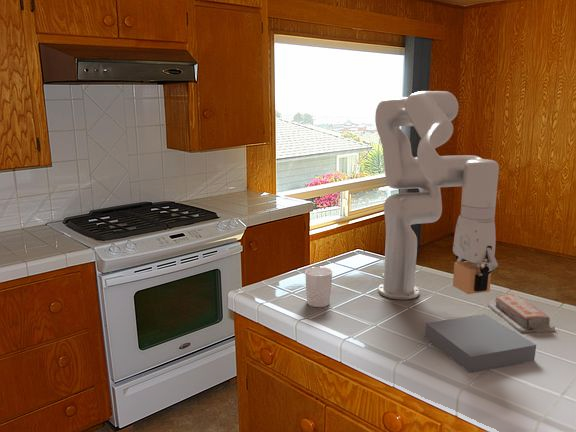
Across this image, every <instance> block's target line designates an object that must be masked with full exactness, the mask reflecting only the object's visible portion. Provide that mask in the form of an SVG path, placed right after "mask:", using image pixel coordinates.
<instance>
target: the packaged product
mask: <svg viewBox="0 0 576 432" xmlns="http://www.w3.org/2000/svg"><path fill="white" fill-rule="evenodd" d="M487 307H489V308H490V309H491V310H492V311H494V312H495V313H496V314H497V315H498V316H499V317H501V318H502V319H503V320H504V321H505V322H507V323H508V324H509V325H511V326H512V327H514V328H515V329H516V330H517V331H518V332H520V333H523V334H525V333H528V334H529V333H543V332H545V333H546V332H555V330H556V326H555V325H553V324H552V323H550V321H551V320H550V317H549V316H548V315H547V314H546V313H544V312H543V311H541V310H540V309H538V308H537V307H536V306H534V305H533V304H531V303H530V302H528V301H527V300H526V299H524V298H522V297H521V296H520V295H518V294H516V293H512V292H509V293H506V294H503V295H498V296H496V298H495V300H494V302H491V303H487Z"/></svg>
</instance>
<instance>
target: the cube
mask: <svg viewBox="0 0 576 432" xmlns="http://www.w3.org/2000/svg"><path fill="white" fill-rule="evenodd" d="M453 264H454V265H453V278H452V286H453V287H455V288H456V289H458V290H460V291H461V292H464V293H465V294H466V295H472V294H473V295H474V294H479V293H480V294H481V293H489V292H491V282H492V281H491V280H492V273H491V274H490V275H488V285H487V290H486V291H479V292H476V291H474V286H475V275H478V274H477V268H476V264H473V263H471V262H469V261H461V262H457V261H454V263H453ZM481 267H482V269H483V268H484V264H482V265H481Z"/></svg>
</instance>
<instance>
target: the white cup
mask: <svg viewBox="0 0 576 432" xmlns="http://www.w3.org/2000/svg"><path fill="white" fill-rule="evenodd" d="M332 279H333V270H332V269H330V268H328V267H323V266H313V267H308V268H306V269H305V292H306V302H307V304H308V306H309V307H313V308H325V307H328V306H329V305H330V303H331V301H330V300H331V293H332V284H333V283H332V282H333V281H332Z"/></svg>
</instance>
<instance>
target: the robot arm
mask: <svg viewBox="0 0 576 432" xmlns="http://www.w3.org/2000/svg"><path fill="white" fill-rule="evenodd" d="M458 113H459V102H458V100H457V98H456V96H455V95H454V94H453V93H452V92H449V91H446V90H444V91H443V90H433V91H432V90H421V91H420V90H419V91H416V92H414V93H411V94H410V95H408V97H407V96H399V97H398V96H396V97H394V96H393V97H388V98H385V99H383V100H380V102H379V103H378V104H377V107H376V110H375V119H374V120H375V126H376V127H375V128H376V130H377V135H378V137H379V140H380V143H381V146H382V147H381V148H382V155H383V156H382V157H383V165H384V175H385V180H386V183H387V186H388V187H389V188H391V189H393V190H395V189H396V190H403V189H404V190H407V189H418V191H419V192H400V193H394V194H391V195H389V196H388V197H387V198H386V199H385V201H384V203H383V214H384V221H385V222H384V223H385V244H384V247H385V250H384V267H383V273H382V274H380V275H381V278H382V279H383V280H382V281H383V282H382V284H381V283H380V284H379V285H378V289H377V291H378V293H379V294H380V295H382V296H383V297H386V298H388V299H393V300H399V301H400V300H401V301H403V300H411V299H415V298H417V297H418V296H419V295H420V289H419V288H418V286H415V285H416V284H415V282H416V271H417V270H416V267H417V256H418V255H417V253H418V237H417V235H416V233H415V231H414V230H413V229H412V227H411V226H412V225H417V224H419V225H420V224H431V223H436V222H437V221H439V219H440V218H441V216H442V212H443V203H442V202H443V201H442V192H441V188H451V187H462V189H461V201H460V203H461V204H460V205H461V206H460V215H458V217H457V221H456V225H455V230H454V237H453V245H452V252H453V254H454V255H455V258H456V262H461V261H469V262H471V263H473V264H476V268H477V274H478V275H475V286H474V291H476V292H479V291H486V290H487V285H488V275H490V274H491V275H492V273H493V271H494V270H495V269H496V268H498V266H499V264H498V263H499V262H498V261H497V259H496V257H495V254H496V243H497V242H496V241H497V237H496V222H495V215H496V208H497V207H496V205H497V197H498V196H497V195H498V193H497V192H498V186H499V185H498V182H499V172H500V167H499V163H498V162H497V161H496V160H493V159H487V158H483V157H480V156H478V155H473V154H472V155H471V154H470V155H469V154H467V155H466V154H465V155H462V154H461V155H457V154H456V155H439V153H438V152H437V151H436V148H438V147H441V146H442V145H444V144H446V143H447V142H448V141H449V140H450V139H451V137H452V135H453V133H454V125H453V122H452V121H454V119H455V118H456V117H457V116H458ZM401 127H414V129H415V130H416V132H417V135H418V136H419V137H420V140H419V143H418V146H417V152H416V156H413V153H412V143H411V141H410V139H409V137H408V135H407V134H406V133H405V132H404V131H403V130H402V128H401ZM482 264H484V268H483V269H482V267H481V265H482Z"/></svg>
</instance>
